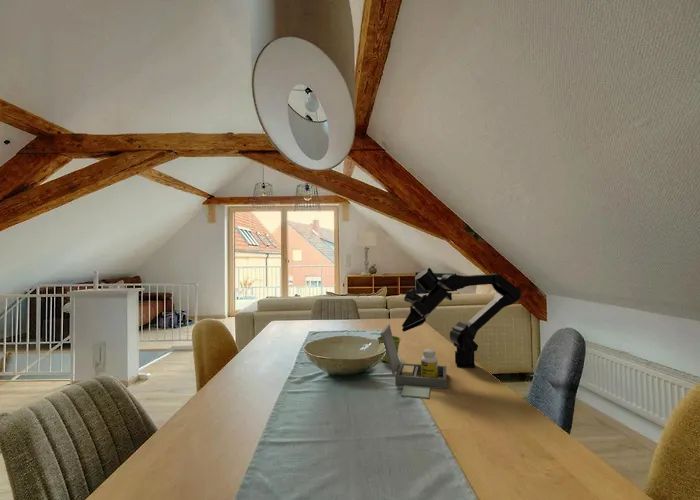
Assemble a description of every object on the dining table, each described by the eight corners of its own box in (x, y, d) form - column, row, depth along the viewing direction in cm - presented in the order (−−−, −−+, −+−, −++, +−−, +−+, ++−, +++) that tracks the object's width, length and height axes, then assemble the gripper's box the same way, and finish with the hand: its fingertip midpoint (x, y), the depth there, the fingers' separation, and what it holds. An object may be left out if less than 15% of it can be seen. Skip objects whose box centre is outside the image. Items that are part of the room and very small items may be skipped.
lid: (389, 324, 132) (386, 325, 133) (383, 332, 120) (380, 333, 120) (400, 362, 131) (396, 362, 132) (395, 373, 119) (391, 374, 119)
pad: (429, 388, 115) (429, 387, 115) (428, 398, 107) (428, 397, 107) (404, 386, 117) (404, 385, 117) (401, 396, 109) (401, 394, 109)
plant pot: (402, 363, 140) (402, 341, 140) (378, 363, 140) (377, 341, 140) (399, 356, 150) (399, 335, 150) (376, 356, 150) (376, 335, 150)
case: (446, 374, 128) (446, 364, 128) (446, 388, 114) (446, 378, 114) (400, 370, 132) (400, 361, 132) (395, 384, 118) (395, 374, 118)
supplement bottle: (419, 381, 121) (418, 351, 121) (423, 376, 126) (423, 347, 126) (435, 383, 119) (435, 353, 119) (439, 378, 124) (439, 349, 124)
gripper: (415, 290, 147) (388, 317, 144) (417, 277, 129) (386, 307, 127) (436, 310, 143) (408, 338, 140) (441, 299, 125) (409, 331, 123)
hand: (402, 328), depth 133 cm, fingers open, 9 cm apart
